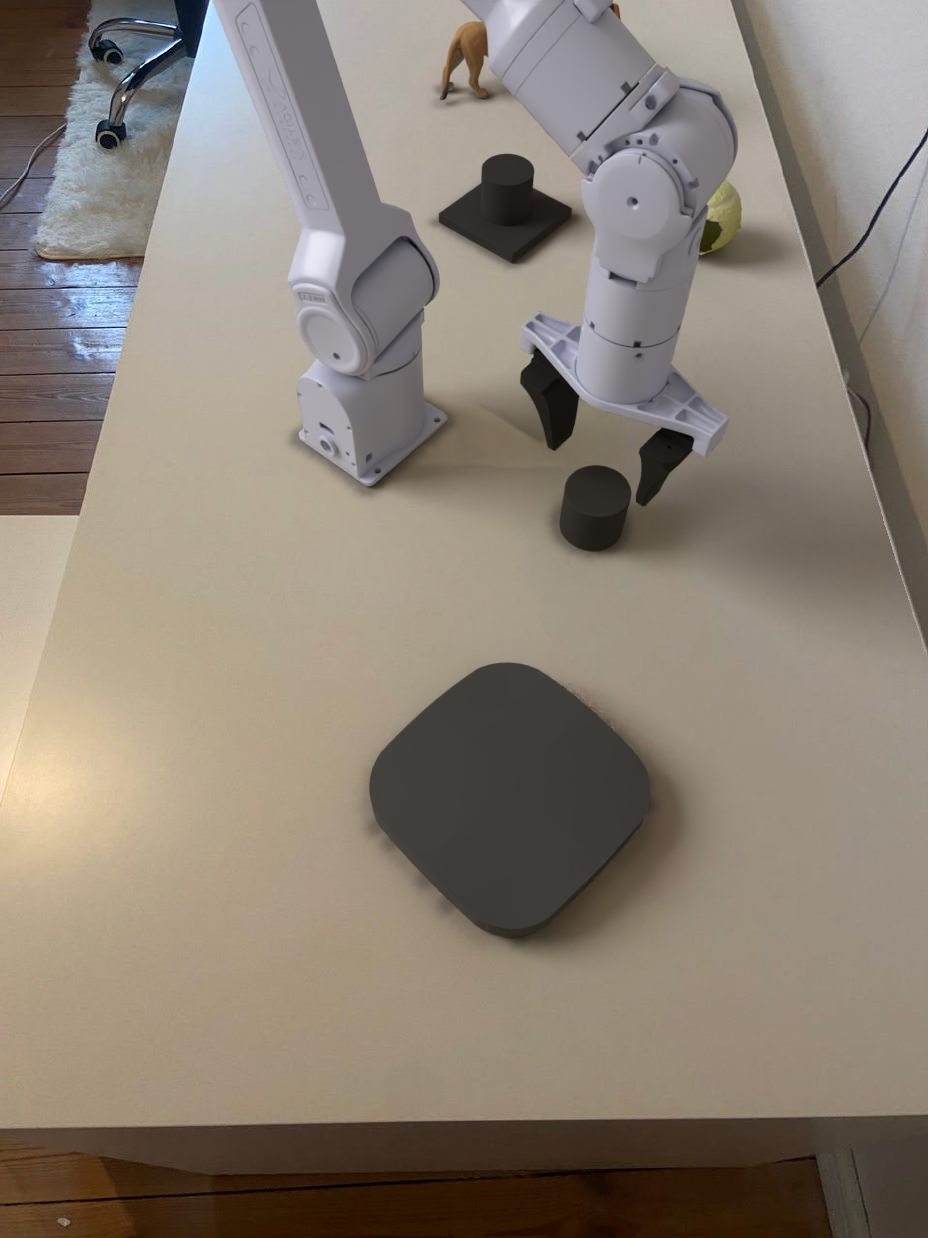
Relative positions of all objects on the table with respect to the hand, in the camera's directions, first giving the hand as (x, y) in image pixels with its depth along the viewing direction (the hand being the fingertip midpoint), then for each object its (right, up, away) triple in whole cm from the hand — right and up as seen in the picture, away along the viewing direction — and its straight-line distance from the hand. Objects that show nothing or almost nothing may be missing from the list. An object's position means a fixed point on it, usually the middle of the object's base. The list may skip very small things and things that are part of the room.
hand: (602, 468), depth 67 cm
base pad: (-6, +28, +24) cm, 37 cm away
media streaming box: (-7, -22, -6) cm, 24 cm away
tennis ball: (+12, +24, +23) cm, 36 cm away
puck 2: (0, -3, +5) cm, 7 cm away
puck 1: (-6, +28, +24) cm, 37 cm away
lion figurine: (-6, +48, +37) cm, 61 cm away
